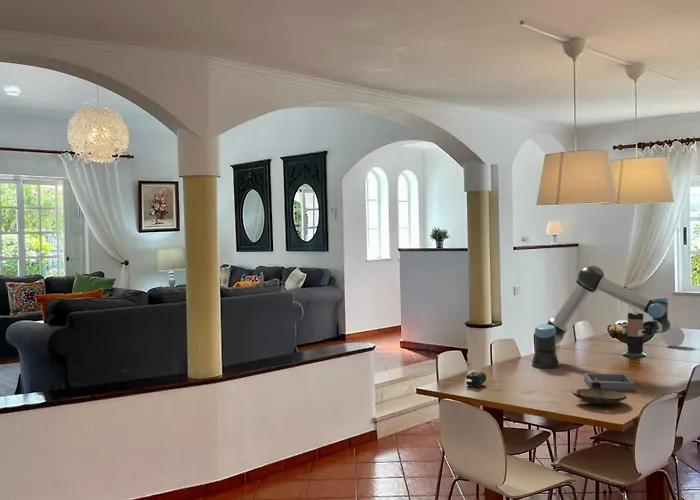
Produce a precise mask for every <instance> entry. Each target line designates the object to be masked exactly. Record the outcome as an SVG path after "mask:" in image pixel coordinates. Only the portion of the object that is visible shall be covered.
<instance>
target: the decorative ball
mask: <svg viewBox="0 0 700 500" xmlns="http://www.w3.org/2000/svg"><path fill="white" fill-rule="evenodd" d="M659 338H660V340H661V341H662V342H664V344H665V345H667V346H668V347H670V346H676V347H678V346H681V345H682V344H683V343H684V340H685V332H684V330H682V328H680V327H679V326H678V325H677V324H673V323H672V324H671V327H670V329H669V330H668V331H666V332H664V333H660V337H659Z"/></svg>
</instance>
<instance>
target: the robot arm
mask: <svg viewBox="0 0 700 500" xmlns="http://www.w3.org/2000/svg"><path fill="white" fill-rule="evenodd" d="M595 292H601V293H603V294H605V295H607V296H609V297H611V298H613V299H616V300H618V301H620V302H622V303H625V304H626V305H628V306H631V307H633V308H635V309H637V310H639V311H642V312H644V313H645V314H647V315H649V316H650V317H651V318H652V320H647V321H643V329H641V330H638V336H640V335H643V336H644V335H647V336H656V334H657V335H658V334H661V333H664V332H666V331H668V330H669V329H670V327H671V325H672V324H671V322H670V320H669V317H668V316H669V314H668V311H669V310H668V309H669V299H668V298H667V297H661V296H655V297H653V298H652V299H650V298H649V297H647V296H644V295H642V294H639V293H637V292H636V291H633V290H632V289H629V288H626V287H625V286H622V285H621V284H619V283H616V282H614V281H611V280H609V279H608V278H606V276H605V273H604V271H603V270H602V269H601V268H600V267H598V266H596V265H590V266H585V267H582V269H580V270H579V271H578V275H577V279H576V280H575V287H574V288H573V289H572V291H571V293H570V294H569V296H568V297H567V298H566V300H565V301H564V303H563V304H562V306H561V307H560V309H559V310H558V312H557V313H556V315H555V316H554V317H553V318H550V319H549V320H548V321H547V323H546V324H539V325H536V326H535V327H534V354H533V358H532V361H531V366H532V367H534V368H538V369H556V368H560V362H559V359H558V356H557V344H559V343H561V342H562V341H563V339H564V336H565V334H566V333H567V331H568V325H569V324H570V322H571V321H572V320H573V318H574V317H575V315H576V314H577V312H578V311H579V310H580V308H581V307H582V305H583V304H584V303H585V301H586V299H587V298H588V297H589V296H590V294H594V293H595ZM627 326H628V325H626V326H624V327H623V328H622V331H621V332H622V333H621V334H622V335H623V334H627Z"/></svg>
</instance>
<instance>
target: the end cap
mask: <svg viewBox="0 0 700 500" xmlns="http://www.w3.org/2000/svg"><path fill="white" fill-rule="evenodd" d="M465 377H466V378H465V379H467V380H468V381H466V382H465V383H466V388H469V389H477V388H478V387H479V386H481V385H483V384H484V383H485V382H486V381H487V375H486V374H485V373H484V372H483V371H479V372H476V371H473V372H471V373H468V374H466V376H465ZM469 380H471V381H469Z"/></svg>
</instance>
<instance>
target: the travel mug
mask: <svg viewBox="0 0 700 500" xmlns="http://www.w3.org/2000/svg"><path fill="white" fill-rule="evenodd" d="M643 323H644V314H643V313H641V312H638V313H633V312H628V313H627V325H626V326H627V333H626V334H627V335H626V336H627V337H626V338H627V340H626V341H627V353H631V354H643V351H644V335H640V336H638V330H641V329H643Z"/></svg>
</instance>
